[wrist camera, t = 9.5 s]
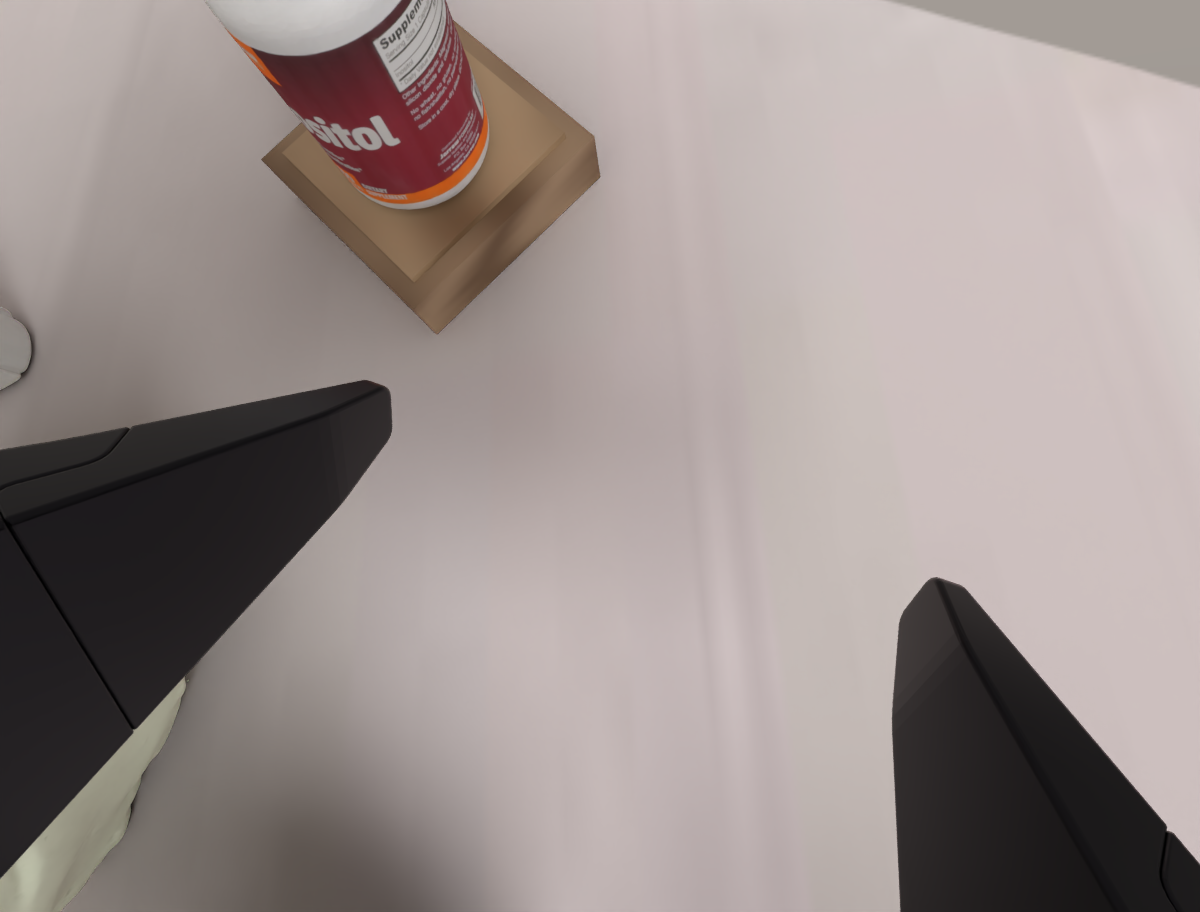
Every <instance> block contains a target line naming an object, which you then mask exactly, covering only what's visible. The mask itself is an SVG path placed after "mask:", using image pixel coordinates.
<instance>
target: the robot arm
mask: <svg viewBox="0 0 1200 912" xmlns="http://www.w3.org/2000/svg"><path fill="white" fill-rule="evenodd" d="M391 432H392V409H391V394H390V391H389V389H388V388H387V387H385V386H383V385H380V384H377V383H374V382H371V381H368V380H362V381H357V382H352V383H347V384H342V385H337V386H332V387H327V388H322V389H317V390H312V391H307V392H302V393H296V394H291V395H286V396H281V397H276V398H271V399H266V400H261V401H256V402H251V403H246V404H241V405H236V406H231V407H226V408H221V409H216V410H211V411H206V412H201V413H196V414H191V415H186V416H181V417H176V418H171V419H166V420H161V421H156V422H151V423H146V424H141V425H136V426H133V427H132V428H131V429H130V428H127V427H125V428H120V429H115V430H110V431H105V432H100V433H95V434H89V435H84V436H79V437H73V438H68V439H62V440H57V441H52V442H45V443H39V444H33V445H27V446H20V447H14V448H8V449H2V450H0V879H1V878H2V877H3V876H4V874H5V873H6V872H7V871H8V870H9V869H10V868H11V867H12V866H13V865H14V864H15V862H16V861H17V860H18V859H19V858H20V857H21V856H22V855H23V854H24V853H25V851H26V850H27V849H28V848H29V847H30V846H31V845H32V844H33V843H34V842H35V840H36V839H37V838H38V837H39V836H40V835H41V834H42V833H43V832H44V831H45V829H46V828H47V827H48V826H49V825H50V824H51V823H52V822H53V821H54V820H55V819H56V817H57V816H58V815H59V814H60V813H61V812H62V811H63V810H64V809H65V808H66V807H67V805H68V804H69V803H70V802H71V801H72V800H73V799H74V798H75V797H76V796H77V794H78V793H79V792H80V791H81V790H82V789H83V788H84V787H85V786H86V785H87V784H88V782H89V781H90V780H91V779H92V778H93V777H94V776H95V775H96V774H97V773H98V771H99V770H100V769H101V768H102V767H103V766H104V765H105V764H106V763H107V762H108V761H109V759H110V758H111V757H112V756H113V755H114V754H115V753H116V752H117V751H118V750H119V748H120V747H121V746H122V745H123V744H124V743H125V742H126V741H127V740H128V739H129V738H130V736H131V735H132V734H133V733H134V731H133V730H135V729H137V728H138V727H139V726H140V725H141V724H142V723H143V722H144V721H145V719H146V718H147V717H148V716H149V715H150V714H151V713H152V712H153V711H154V710H155V708H156V707H157V706H158V705H159V704H160V703H161V702H162V701H163V700H164V699H165V698H166V696H167V695H168V694H169V693H170V692H171V691H172V690H173V689H174V688H175V687H176V685H177V684H178V683H179V682H180V681H181V680H182V679H183V678H184V677H185V676H186V675H187V673H188V672H189V671H190V670H191V669H192V668H193V667H194V666H195V665H196V664H197V662H198V661H199V660H200V659H201V658H202V657H203V656H204V655H205V654H206V653H207V651H208V650H209V649H210V648H211V647H212V646H213V645H214V644H215V643H216V642H217V641H218V639H219V638H220V637H221V636H222V635H223V634H224V633H225V632H226V631H227V630H228V628H229V627H230V626H231V625H232V624H233V623H234V622H235V621H236V620H237V619H238V618H239V616H240V615H241V614H242V613H243V612H244V611H245V610H246V609H247V608H248V607H249V605H250V604H251V603H252V602H253V601H254V600H255V599H256V598H257V597H258V596H259V594H260V593H261V592H262V591H263V590H264V589H265V588H266V587H267V586H268V585H269V584H270V582H271V581H272V580H273V579H274V578H275V577H276V576H277V575H278V574H279V573H280V571H281V570H282V569H283V568H284V567H285V566H286V565H287V564H288V563H289V562H290V561H291V559H292V558H293V557H294V556H295V555H296V554H297V553H298V552H299V551H300V550H301V548H302V547H303V546H304V545H305V544H306V543H307V542H308V541H309V540H310V539H311V537H312V536H313V535H314V534H315V533H316V532H317V531H318V530H319V529H320V528H321V527H322V525H323V524H324V523H325V522H326V521H327V520H328V519H329V518H330V517H331V516H332V514H333V513H334V512H335V511H336V510H337V509H338V507H339V506H340V505H341V504H342V503H343V501H344V500H345V499H346V498H347V496H348V495H349V494H350V492H351V491H352V490H353V488H354V487H355V485H356V484H357V483H358V481H359V480H360V479H361V477H362V476H363V474H364V473H365V472H366V470H367V469H368V468H369V466H370V465H371V463H372V462H373V461H374V459H375V458H376V456H377V455H378V454H379V452H380V451H381V450H382V448H383V447H384V445H385V444H386V443H387V441H388V440H389V438H390V435H391ZM892 738H893V760H894V782H895V803H896V825H897V847H898V869H899V890H900V912H1200V864H1199V863H1198V861H1197V860H1196V859H1195V858H1194V857H1193V855H1192V854H1191V853H1190V852H1189V851H1188V850H1187V848H1186V847H1185V846H1184V845H1183V844H1182V842H1181V841H1180V840H1179V839H1178V838H1177V837H1176V835H1175V834H1174V833H1172V832H1170V831H1167V826H1166V824H1165V823H1164V822H1163V820H1162V819H1161V818H1160V817H1159V816H1158V814H1157V813H1156V812H1155V811H1154V810H1153V809H1152V807H1151V806H1150V805H1149V804H1148V803H1147V802H1146V800H1145V799H1144V798H1143V797H1142V796H1141V794H1140V793H1139V792H1138V791H1137V790H1136V789H1135V787H1134V786H1133V785H1132V784H1131V783H1130V782H1129V780H1128V779H1127V778H1126V777H1125V776H1124V774H1123V773H1122V772H1121V771H1120V770H1119V769H1118V767H1117V766H1116V765H1115V764H1114V763H1113V761H1112V760H1111V759H1110V758H1109V757H1108V756H1107V754H1106V753H1105V752H1104V751H1103V750H1102V749H1101V747H1100V746H1099V745H1098V744H1097V743H1096V741H1095V740H1094V739H1093V738H1092V737H1091V736H1090V734H1089V733H1088V732H1087V731H1086V730H1085V729H1084V727H1083V726H1082V725H1081V724H1080V723H1079V721H1078V720H1077V719H1076V718H1075V717H1074V716H1073V714H1072V713H1071V712H1070V711H1069V710H1068V709H1067V707H1066V706H1065V705H1064V704H1063V703H1062V701H1061V700H1060V699H1059V698H1058V697H1057V696H1056V694H1055V693H1054V692H1053V691H1052V690H1051V689H1050V687H1049V686H1048V685H1047V684H1046V683H1045V681H1044V680H1043V679H1042V678H1041V677H1040V676H1039V674H1038V673H1037V672H1036V671H1035V670H1034V669H1033V667H1032V666H1031V665H1030V664H1029V663H1028V661H1027V660H1026V659H1025V658H1024V657H1023V656H1022V654H1021V653H1020V652H1019V651H1018V650H1017V649H1016V647H1015V646H1014V645H1013V644H1012V643H1011V641H1010V640H1009V639H1008V638H1007V637H1006V636H1005V634H1004V633H1003V632H1002V631H1001V630H1000V629H999V627H998V626H997V625H996V624H995V623H994V621H993V620H992V619H991V618H990V617H989V616H988V614H987V613H986V612H985V611H984V610H983V609H982V607H981V606H980V605H979V604H978V603H977V601H976V600H975V599H974V598H973V597H972V596H971V594H970V593H969V592H968V591H967V590H966V589H965V588H964V587H963V586H961V585H959V584H956V583H953V582H950V581H947V580H944V579H941V578H938V577H934V578H931V579H929V580H928V581H927V582H926V583H925V584H924V585H923V587H922V588H921V589H920V591H919V592H918V593H917V594H916V596H915V597H914V598H913V600H912V601H911V602H910V603H909V605H908V606H907V607H906V609H905V610H904V612H903V614H902V616H901V619H900V622H899V631H898V643H897V656H896V668H895V680H894V693H893V707H892Z"/></svg>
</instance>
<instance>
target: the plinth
mask: <svg viewBox="0 0 1200 912" xmlns="http://www.w3.org/2000/svg"><path fill="white" fill-rule="evenodd" d="M453 22H454V25H455V27H456V30H457V33H458V35H459V38H460V41H461V43H462V46H463V49H464V51H465V54H466V56H467V59H468V62H469V65H470V67H471V70H472V73H473V76H474V78H475V81H476V83H477V86H478V89H479V92H480V94H481V97H482V99H483V102H484V105H485V109H486V112H487V116H488V121H489V143H488V148H487V152H486V155H485V158H484V161H483V163H482V165H481V167H480V169H479V170H478V172H477V173H476V175H475V176H474V178H473V179H472V180H471V181H470V183H469V184H468V185H467V186H466V187H465V188H464V189H463V190H462V191H460V192H459V193H458V194H457V195H455V196H453V197H452V198H450V199H448V200H446V201H444V202H442V203H439V204H437V205H434V206H431V207H427V208H421V209H411V210H406V209H394V208H389V207H386V206H383V205H380V204H378V203H376V202H374V201H372V200H370V199H369V198H367V197H366V196H364V195H363V194H362V193H360V192H359V191H358V190H357V189H356V188H355V187H354V186H353V185H352V183H351V182H350V181H349V180H348V179H347V178H346V177H345V176H344V174H343V173H342V172H341V171H340V169H339V168H338V167H337V166H336V164H335V163H334V162H333V161H332V159H331V158H330V157H329V156H328V154H327V153H326V152H325V150H324V149H323V148H322V147H321V146H320V144H319V143H318V142H317V141H316V139H315V138H314V137H313V135H312V134H311V133H310V132H309V131H308V130H307V128H306V127H305V126H304V124H303V123H300V124H299V125H298V126H297V127H296V128H295V129H294V130H293V131H292V132H291V133H290V134H288V135H287V136H286V137H285V138H284V139H283V140H282V141H281V142H280V143H279V144H278V145H276V146H275V147H274V148H273V149H272V150H271V151H270V152H269V153H268V154H267V155H266V156H264V157H263V158H262V159H261V160H262V161H263V162H264V163H265V164H266V165H267V166H268V167H269V168H270V169H271V170H272V171H273V172H274V173H275V174H276V175H277V176H278V177H279V178H280V179H281V180H282V181H283V182H284V183H285V184H286V185H287V186H288V187H289V188H290V189H291V190H292V191H293V192H294V193H295V194H296V195H297V196H298V197H299V198H300V199H301V200H302V201H303V202H304V203H305V204H306V205H307V206H308V207H309V208H310V209H311V210H312V211H313V212H314V213H315V214H316V215H317V216H318V217H319V218H320V219H321V220H322V221H323V222H324V223H325V224H326V225H327V226H328V227H329V228H330V229H331V230H332V231H333V232H334V233H335V234H336V235H337V236H338V237H339V238H340V239H341V240H342V241H343V242H344V243H345V244H346V245H347V246H348V247H349V248H350V249H351V250H352V251H353V252H354V253H355V254H356V255H357V256H358V257H359V258H360V259H361V260H362V261H363V262H364V263H365V264H366V265H367V266H368V267H369V268H370V269H371V270H372V271H373V272H374V273H375V274H376V275H377V276H378V277H379V278H380V279H381V280H382V281H383V282H384V283H385V284H386V285H387V286H388V287H389V288H390V289H391V290H392V291H393V292H394V293H395V294H396V295H397V296H398V297H399V298H400V299H401V300H402V301H403V302H404V303H405V304H406V305H407V306H408V307H409V308H410V309H411V310H412V311H413V312H414V313H415V314H416V315H418V316H419V317H420V318H421V319H422V320H423V321H424V322H425V323H426V324H427V325H428V326H429V327H430V328H431V329H432V330H433V331H434V332H435V333H436V334H438V333H439V332H440V331H441V330H442V329H443V328H444V327H445V326H446V325H447V324H448V323H449V322H450V321H451V320H452V319H453V318H455V317H456V316H457V315H458V314H459V313H460V312H461V311H462V310H463V309H464V308H465V307H466V306H467V305H468V304H469V303H470V302H471V301H472V300H473V299H474V298H475V297H476V296H477V295H478V294H479V293H480V292H481V291H483V290H484V289H485V288H486V287H487V286H488V285H489V284H490V283H491V282H492V281H493V280H494V279H495V278H496V277H497V276H498V275H499V274H500V273H501V272H502V271H503V270H504V269H505V268H506V267H507V266H508V265H509V264H510V263H512V262H513V261H514V260H515V259H516V258H517V257H518V256H519V255H520V254H521V253H522V252H523V251H524V250H525V249H526V248H527V247H528V246H529V245H530V244H531V243H532V242H533V241H534V240H535V239H536V238H537V237H538V236H540V235H541V234H542V233H543V232H544V231H545V230H546V229H547V228H548V227H549V226H550V225H551V224H552V223H553V222H554V221H555V220H556V219H557V218H558V217H559V216H560V215H561V214H562V213H563V212H564V211H565V210H566V209H568V208H569V207H570V206H571V205H572V204H573V203H574V202H575V201H576V200H577V199H578V198H579V197H580V196H581V195H582V194H583V193H584V192H585V191H586V190H587V189H588V188H589V187H590V186H591V185H592V184H593V183H594V182H596V181H597V180H598V179H599V178H600V172H599V165H598V159H597V152H596V145H595V139H594V136H593V135H592V134H591V133H590V132H588V131H587V130H586V129H585V128H584V127H582V126H581V125H580V124H579V123H577V122H576V121H575V120H574V119H573V118H571V117H570V116H569V115H568V114H566V113H565V112H564V111H563V110H562V109H560V108H559V107H558V106H557V105H556V104H554V103H553V102H552V101H551V100H549V99H548V98H547V97H546V96H545V95H543V94H542V93H541V92H540V91H539V90H537V89H536V88H535V87H534V86H532V85H531V84H530V83H529V82H528V81H526V80H525V79H524V78H523V77H522V76H520V75H519V74H518V73H517V72H515V71H514V70H513V69H512V68H511V67H509V66H508V65H507V64H506V63H505V62H503V61H502V60H501V59H500V58H498V57H497V56H496V55H495V54H494V53H492V52H491V51H490V50H489V49H488V48H486V47H485V46H484V45H483V44H481V43H480V42H479V41H478V40H477V39H475V38H474V37H473V36H472V35H471V34H469V33H468V32H467V31H466V30H464V29H463V28H462V27H461V26H460V25H458V24H457V23H456V22H455V21H454V20H453Z"/></svg>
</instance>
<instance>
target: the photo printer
mask: <svg viewBox="0 0 1200 912" xmlns="http://www.w3.org/2000/svg"><path fill="white" fill-rule="evenodd" d="M30 357H31V340H30V336H29V334H28V331H27V330H26V328H25V327H24V325H23V324H22V323H20V322H19V321H17V320H15V319H13V318H12V315H11V312H10V311H8V310H7V309H5V308H3V307H1V306H0V390H1V389H3V388H5V387H7V386H9V385H11V384H12V383H14V382H16V381H17V380H19V379H20V377H21V373H22V372H24V371H26V369H27V368H28V365H29V362H30Z"/></svg>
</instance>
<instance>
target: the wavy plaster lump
mask: <svg viewBox="0 0 1200 912" xmlns="http://www.w3.org/2000/svg"><path fill="white" fill-rule="evenodd" d="M188 681H189V680H188ZM188 681H187V682H188ZM185 688H186V682H185V677H184V678H183V679H182V680H181V681H180V682H179V683H178V684H177V685H176V687H175V688H174V689H173V690H172V691H171V692H170V693H169V694H168V695H167V696H166V698H165V699H164V700H163V701H162V702H161V703H160V704H159V705H158V706H157V707H156V708H155V710H154V711H153V712H152V713H151V714H150V715H149V716H148V717H147V718H146V719H145V721H144V722H143V723H142V724H141V725H140V726H139V727H138V728H137V729H135V730H133V731H134V733H133V734H132V735H131V736H130V738H129V739H128V740H127V741H126V742H125V743H124V744H123V745H122V746H121V747H120V748H119V750H118V751H117V752H116V753H115V754H114V755H113V756H112V757H111V758H110V759H109V761H108V762H107V763H106V764H105V765H104V766H103V767H102V768H101V769H100V770H99V771H98V773H97V774H96V775H95V776H94V777H93V778H92V779H91V780H90V781H89V782H88V784H87V785H86V786H85V787H84V788H83V789H82V790H81V791H80V792H79V793H78V794H77V796H76V797H75V798H74V799H73V800H72V801H71V802H70V803H69V804H68V805H67V807H66V808H65V809H64V810H63V811H62V812H61V813H60V814H59V815H58V816H57V817H56V819H55V820H54V821H53V822H52V823H51V824H50V825H49V826H48V827H47V828H46V829H45V831H44V832H43V833H42V834H41V835H40V836H39V837H38V838H37V839H36V840H35V842H34V843H33V844H32V845H31V846H30V847H29V848H28V849H27V850H26V851H25V853H24V854H23V855H22V856H21V857H20V858H19V859H18V860H17V861H16V862H15V864H14V865H13V866H12V867H11V868H10V869H9V870H8V871H7V872H6V873H5V874H4V876H3V877H2V878H1V879H0V912H60V911H61V910H62V909H63V908H64V907H65V906H66V905H67V904H68V903H69V902H70V901H71V900H72V899H73V898H74V897H75V896H76V895H77V894H78V893H79V891H80V890H81V889H82V888H83V886H84V885H85V884H86V882H87V881H88V879H89V877H90V876H91V874H92V873H93V872H94V870H95V869H96V867H97V866H98V865H99V864H100V863H101V862H102V861H103V859H104V858H105V856H106V855H107V853H108V852H109V851H110V850H111V849H112V848H113V847H114V846H115V845H117V844H118V843H119V842H120V840H121V839H122V837H123V836H124V834H125V831H126V828H127V825H128V822H129V818H130V814H131V806H130V805H131V803H132V801H133V799H134V797H135V795H136V793H137V791H138V788H139V786H140V783H141V775H142V774H143V772H144V771H145V769H146V768H147V766H148V765H149V763H150V762H151V761H152V759H153V758H154V757H156V756H157V755H158V753H159V752H160V750H161V749H162V747H163V745H164V744H165V742H166V740H167V738H168V736H169V733H170V731H171V728H172V726H173V724H174V721H175V718H176V716H177V713H178V709H179V707H180V703H181V696H182V695H183V694H184V691H185Z"/></svg>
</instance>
